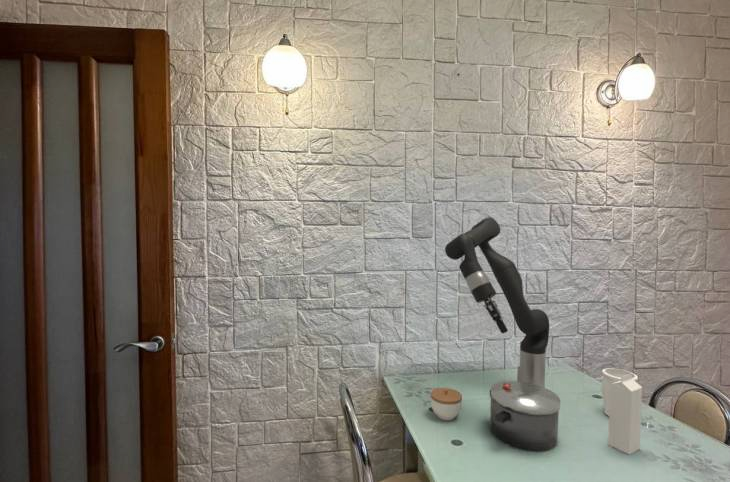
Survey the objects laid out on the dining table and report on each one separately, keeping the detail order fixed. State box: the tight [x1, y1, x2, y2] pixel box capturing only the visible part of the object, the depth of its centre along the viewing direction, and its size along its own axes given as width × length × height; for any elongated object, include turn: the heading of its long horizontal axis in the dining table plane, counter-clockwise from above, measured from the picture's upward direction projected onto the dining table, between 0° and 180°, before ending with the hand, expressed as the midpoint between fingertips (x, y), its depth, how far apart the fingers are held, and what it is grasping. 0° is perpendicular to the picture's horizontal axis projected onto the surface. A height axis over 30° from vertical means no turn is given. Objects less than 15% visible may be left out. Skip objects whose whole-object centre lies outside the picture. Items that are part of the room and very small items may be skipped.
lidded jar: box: [430, 387, 463, 421], centre depth 133 cm, size 11×11×9 cm
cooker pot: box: [489, 388, 560, 453], centre depth 123 cm, size 21×28×11 cm
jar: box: [601, 367, 639, 417], centre depth 134 cm, size 11×10×15 cm
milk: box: [607, 374, 643, 455], centre depth 115 cm, size 6×6×22 cm
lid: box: [490, 380, 561, 415], centre depth 122 cm, size 20×20×3 cm
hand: (505, 332), depth 128 cm, fingers closed
